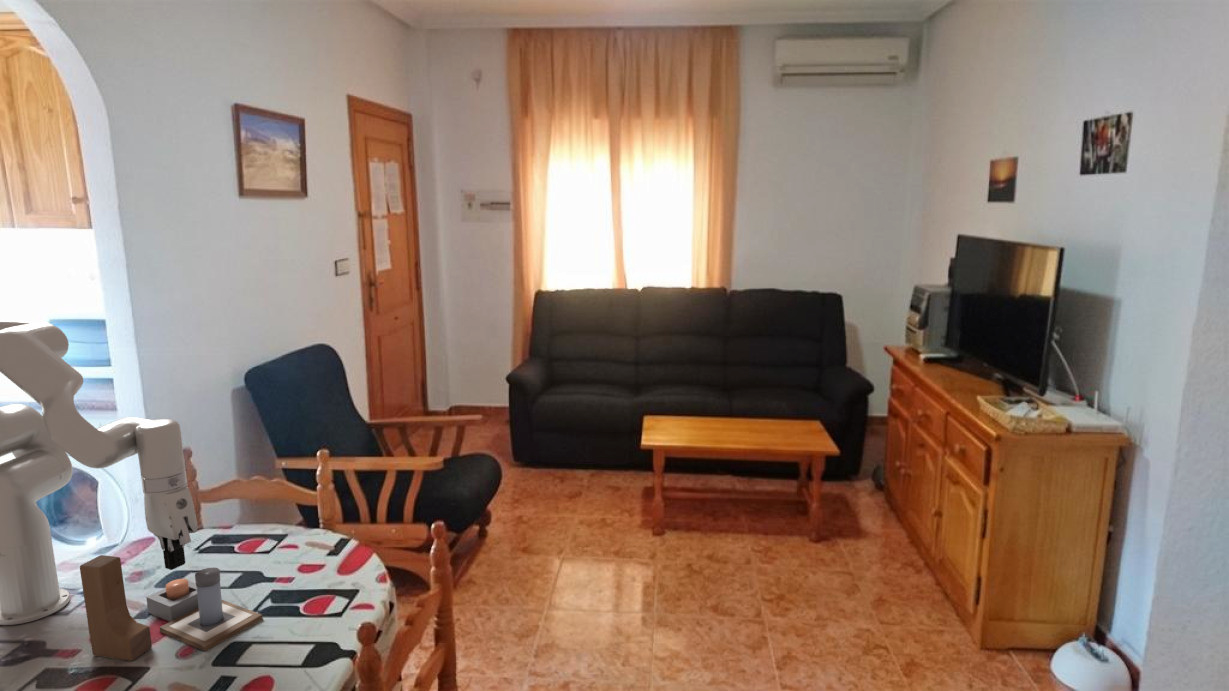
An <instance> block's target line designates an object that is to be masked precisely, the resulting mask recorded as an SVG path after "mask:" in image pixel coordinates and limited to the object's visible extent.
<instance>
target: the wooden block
mask: <svg viewBox="0 0 1229 691" xmlns="http://www.w3.org/2000/svg"><path fill="white" fill-rule="evenodd" d="M79 572H80V578H81V585H82V586H81V587H82V592H83V593H82V594H83V599H84V605H85V613H86V619H87V624H88V634H89V640H90V648H91V653H92V655H93V656H95V657H102V658H111V659H117V660H122V661H123V660H124V661H128V662H129V661H130V662H133V661H135V660H136V659H137V658H139V657H140V656H142V655H143V654H145V653H146V652H147V651H149V650H151V648H152V647H153V646H152V644H153V643H152V637H151V629H150V627H149V625H146V624H142V623H140V622H138V621H136V619H135V618H133V617H132V615H131V613H130V611H129V608H128V604H127V598H126V591H125V590H126V589H125V583H124V576H123V569H122V560H121V557H119V556H111V555H103V554H101V555H100V554H99V555H98V556H97V557H95V558H92V559H91V560H89V561H87V562H84V563H82V564H80V566H79Z"/></svg>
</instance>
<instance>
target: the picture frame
mask: <svg viewBox="0 0 1229 691" xmlns="http://www.w3.org/2000/svg"><path fill="white" fill-rule="evenodd" d="M222 610H223V619H222V620H221V621H220V622H218V623H216V624H212V625H201V624H200V618H199V608H197V609H195V610H193V611H191V612H189V613H187V614H185V615H183V616H181V617H179V618H177V619H175V620H173V621H171V622H169V621H168V622H167V623H165V624H163V625H161V626H159V633H161V634H164V635H167V636H169V637H171V638H173V639H176V640H178V641H180V642H183V643H185V644H187V645H190V646H192V647H194V648H197V649H199V650H201V651H203V652H206V651H209V650H210V649H213V648H214V647H216V646H218V645H219V644H221V643H222V642H224V641H227V640H229V639H230V638H232V637H234V636H235V635H237V634H239V633H241V632H242V631H244V630H246V629H247V628H250V627H251V626H253V625H255V624H257V623H258V622H260V621H262V620H263V618H264V617H263V614H261V613H259V612H256V611H254V610H250V609H248V608H246V607H243V606H241V605H237V604H235V603H233V602H229V601H226V600H224V599H222Z"/></svg>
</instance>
